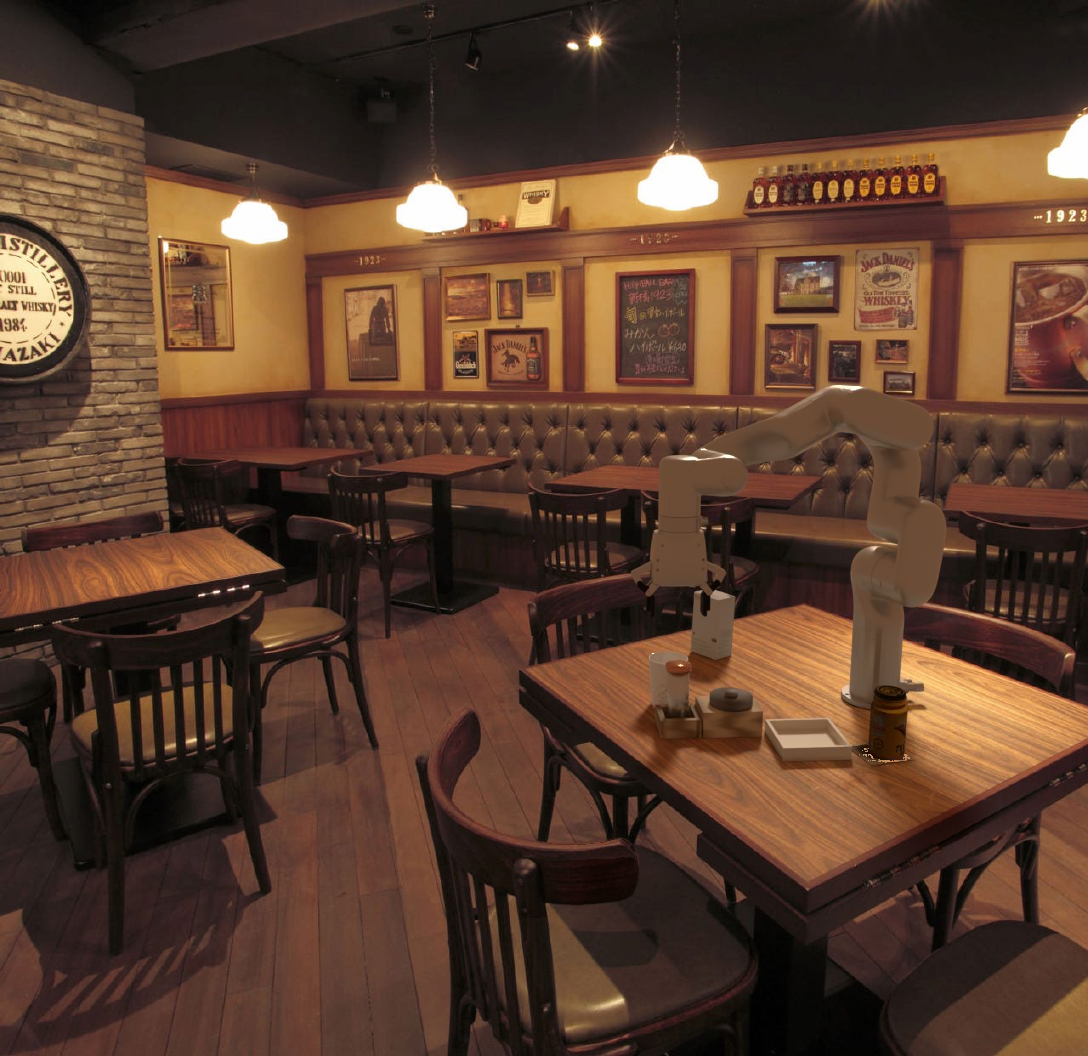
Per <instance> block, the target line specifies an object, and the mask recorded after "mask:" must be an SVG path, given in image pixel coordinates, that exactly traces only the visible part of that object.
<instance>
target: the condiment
mask: <svg viewBox="0 0 1088 1056" xmlns="http://www.w3.org/2000/svg"><path fill="white" fill-rule="evenodd" d="M906 696H907V694H906V692H905V691H904V690H903V689H901V688H899V687H896V686H889V685H882V686H877V687H876V688H875V690H874V697H873V699H874V700H873V701H872V703H871V709H869V710H870V711H869V731H868V743H864V744H859V745H851V746H852V752H854V753H855V754H856V755H857V754H860V755H858V756H859V757H860V758H861V759H862V760H864V761H865V762H866V763H867V764H869V765H871V766H876V765H880V766H881V765H885V764H886V765H887V764H892V763H891V762H887V763H885V762H882V761H881V762H878V761H877V760H878V759H880V760H890V761H892V760H893V761H894V760H905V758H904V759H903V757H905V756H904V754H907V752H905V751H906V740H907V736H906V735H907V723H908V722H907V721H908V712H909V711H908V710H909V707H908V706H907V703H906ZM864 748H869V749H867V750H868V752H865V751H867V750H864ZM862 750H863V751H862ZM863 754H867V757H866V756H865V755H864V756H863ZM868 754H871V755H872V756H873V758H875V759H872V758H871V756H870V755H869V756H868ZM908 755H909V756H907V757H910V759H908V758H907V760H912V761H915V760H916V758H914V757H913V756H911V755H910V754H908ZM868 760H869V761H868ZM870 760H871V761H870ZM872 760H876V761H872Z"/></svg>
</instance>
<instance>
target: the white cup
mask: <svg viewBox="0 0 1088 1056" xmlns="http://www.w3.org/2000/svg"><path fill="white" fill-rule="evenodd" d="M672 660H683V661H687V662H689V657H688V656H687V655H686V654H684V653H682V652H678V651H672V650H665V651H664V650H663V651H656V652H652V653H651V654H649V656H648V673H649V678H648V679H649V689H650V704H651V706H653V708H655V705H661V704H667V701H668V672H667V671H666V663H667V662H669V661H672Z"/></svg>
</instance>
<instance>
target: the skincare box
mask: <svg viewBox="0 0 1088 1056" xmlns="http://www.w3.org/2000/svg"><path fill="white" fill-rule="evenodd" d="M702 590H703V589H702ZM702 590H696V591H694V592H693V593H694V594H693V608H692V621H691V623H692V625H691V637H690V638H691V639H690V652H692V653H695V654H697V655H700V656H703V657H707V658H709V659H712V660H714V661H717V660H720V659H723V658H728V657H731V656H732V650H733V635H734V634H733V633H734V621H735V618H734V617H735V607H736V596H734V595H731V594H728V593H725V592H723V591H719V590H717V589H716V590H715V591H714V592H713V594H712V595H711V596H710V611H707V617H704V616H703V615H702V614H701V612H700V597H701V593H702Z"/></svg>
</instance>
